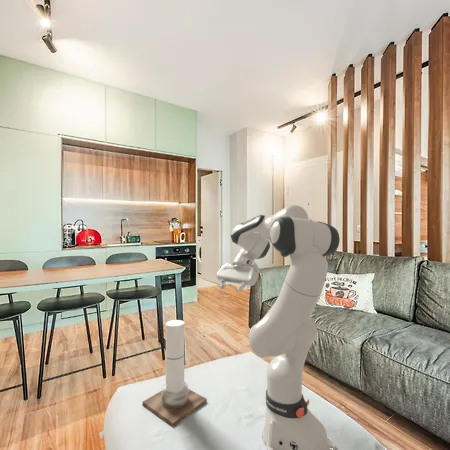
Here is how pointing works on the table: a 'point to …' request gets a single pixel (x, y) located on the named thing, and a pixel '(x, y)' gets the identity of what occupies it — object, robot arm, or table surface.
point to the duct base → (174, 412)
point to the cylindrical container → (174, 356)
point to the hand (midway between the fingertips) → (229, 289)
